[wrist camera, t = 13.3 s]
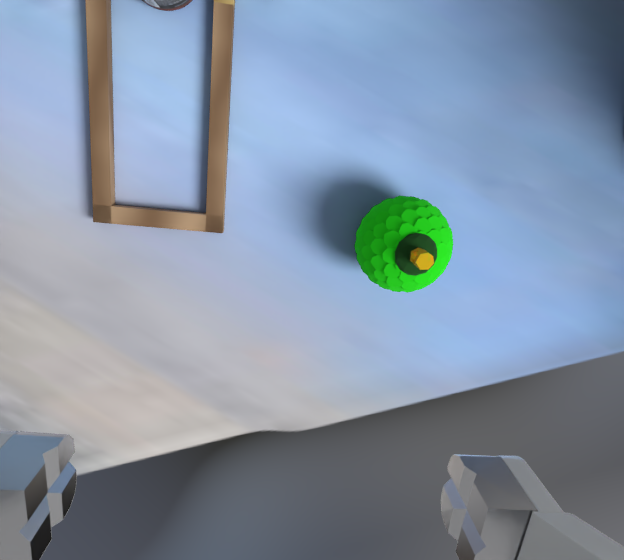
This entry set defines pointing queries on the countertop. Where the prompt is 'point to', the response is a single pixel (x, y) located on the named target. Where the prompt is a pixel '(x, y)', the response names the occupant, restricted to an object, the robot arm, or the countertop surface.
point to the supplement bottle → (167, 4)
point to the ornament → (403, 244)
